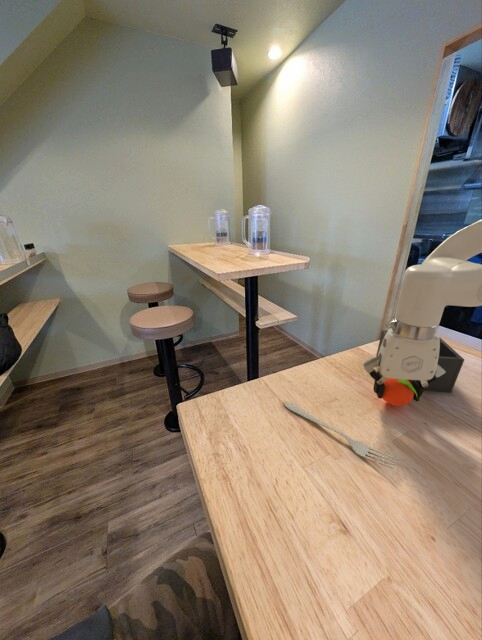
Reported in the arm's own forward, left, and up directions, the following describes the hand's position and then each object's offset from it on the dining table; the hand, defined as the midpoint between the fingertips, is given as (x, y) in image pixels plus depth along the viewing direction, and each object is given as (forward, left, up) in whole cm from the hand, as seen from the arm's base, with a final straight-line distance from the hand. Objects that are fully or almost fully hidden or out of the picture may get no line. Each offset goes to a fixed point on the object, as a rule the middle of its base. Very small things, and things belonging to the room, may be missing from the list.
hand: (395, 395), depth 58 cm
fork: (+16, +10, -3) cm, 19 cm away
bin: (-8, -13, -3) cm, 16 cm away
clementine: (0, 0, -3) cm, 3 cm away
